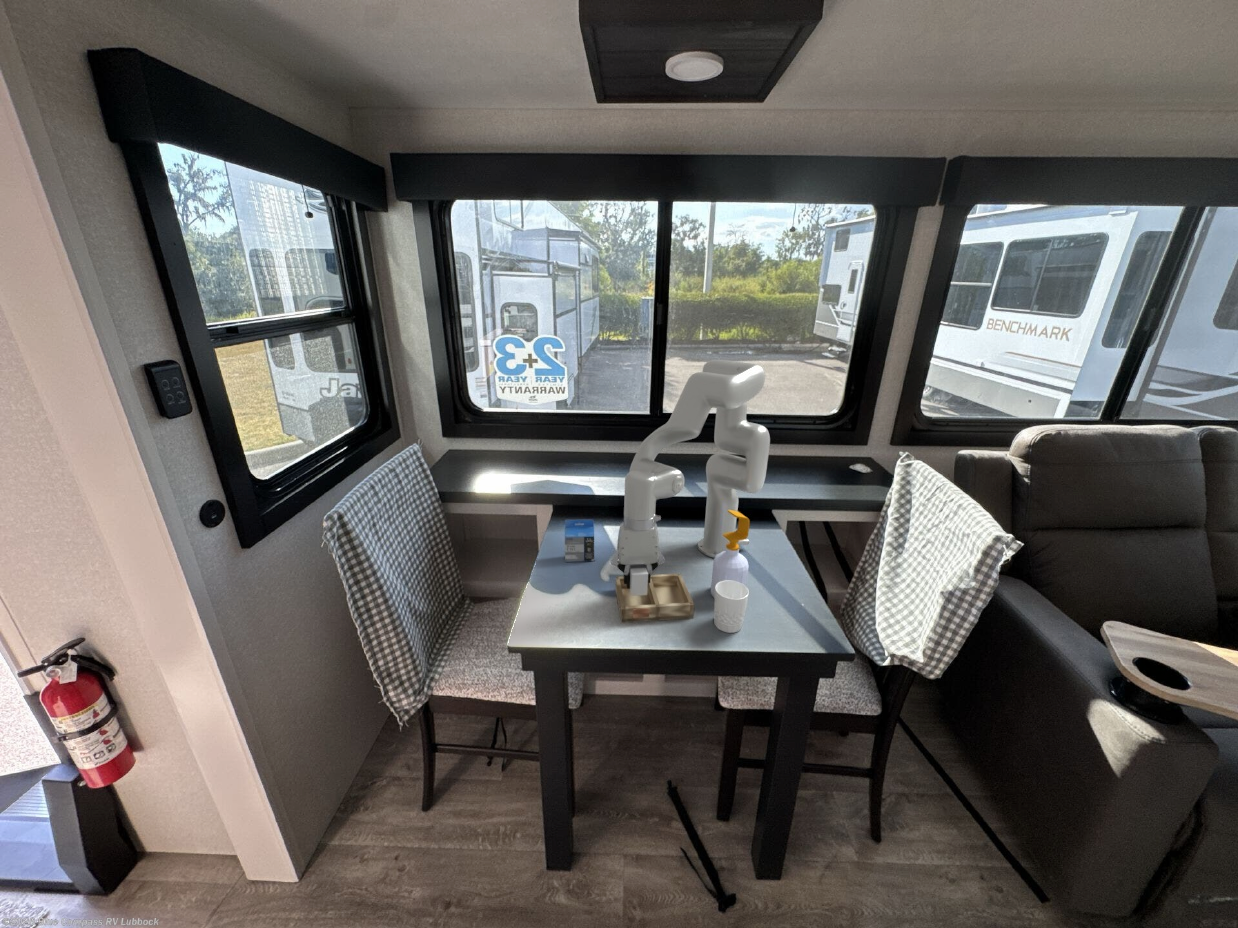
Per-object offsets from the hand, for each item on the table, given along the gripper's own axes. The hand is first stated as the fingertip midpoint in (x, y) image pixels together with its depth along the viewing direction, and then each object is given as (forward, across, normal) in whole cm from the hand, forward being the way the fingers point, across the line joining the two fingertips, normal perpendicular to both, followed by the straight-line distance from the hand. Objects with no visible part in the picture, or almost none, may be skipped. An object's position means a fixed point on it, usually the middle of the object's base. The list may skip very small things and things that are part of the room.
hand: (636, 584), depth 121 cm
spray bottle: (+6, -25, -2) cm, 26 cm away
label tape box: (+6, +14, -24) cm, 28 cm away
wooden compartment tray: (+6, -4, 0) cm, 7 cm away
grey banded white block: (0, 0, 0) cm, 0 cm away
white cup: (+6, -21, +10) cm, 24 cm away
